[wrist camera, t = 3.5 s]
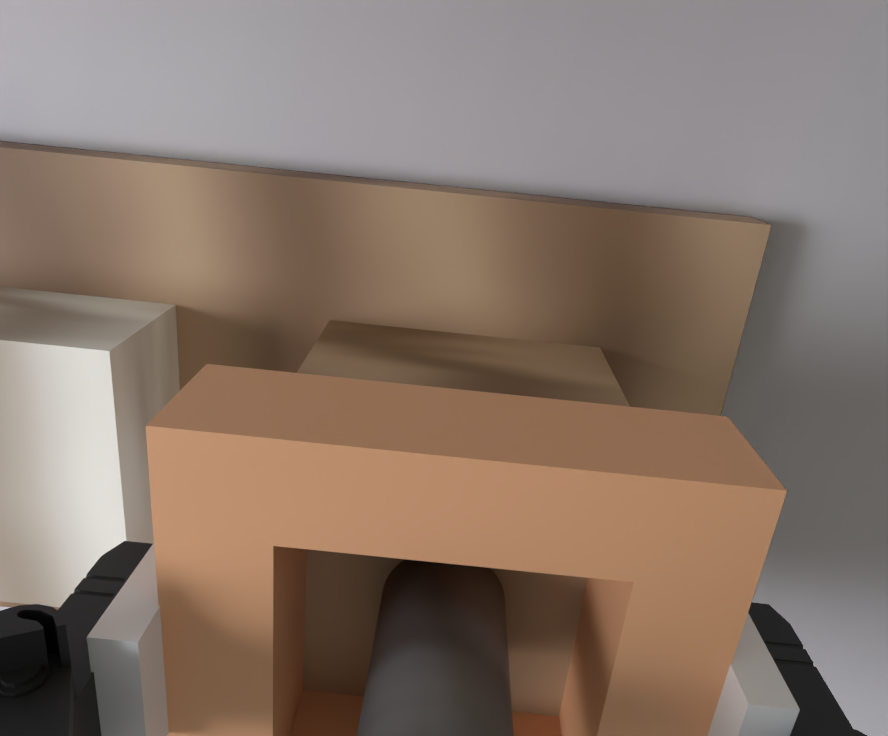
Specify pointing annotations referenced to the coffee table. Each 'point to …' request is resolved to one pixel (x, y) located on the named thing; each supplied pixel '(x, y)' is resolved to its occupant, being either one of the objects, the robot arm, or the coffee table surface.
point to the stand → (338, 375)
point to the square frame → (449, 537)
